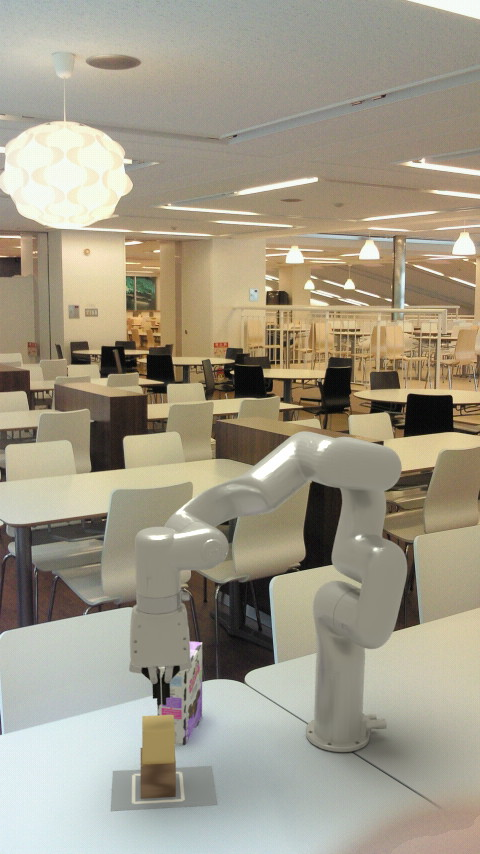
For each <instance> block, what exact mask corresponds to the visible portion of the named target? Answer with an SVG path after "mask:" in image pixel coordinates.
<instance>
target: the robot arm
mask: <svg viewBox="0 0 480 854" xmlns="http://www.w3.org/2000/svg"><path fill="white" fill-rule="evenodd" d="M401 475H402V462H401V459H400V456H399V455H398V454H397V452H396V451H395V450H394V449H393V448H392V447H389V446H386V445H383V444H378V443H375V442H371V441H367V440H363V439H361V438H360V439H359V438H355V437H350V436H339V437H333V436H329V435H326V434H325V435H324V434H320V433H317V432H312V431H304V430H303V431H299V432H296V433H293V434H292V435H290V436H289V437H288V438H287V439H286V440H284V441H283V442H282V443H280V445H278V446H277V447H276V448H275V449H273V450H272V451H271V452H269V453H268V454H267V455H266V456H264V458H262V459H261V460H259V462H257V463H255V464H254V465H253V466H252V467H251V468H250V469H249V470H247V471H245V472H244V473H243V474H241V475H239V476H237V477H236V476H235V477H234V478H231V479H227V480H225V481H223V482H222V483H218V484H217V485H215V486H214V485H213V486H212V487H209V488H207V489H205V490H203V491H201V492H200V493H198V494H197V495H195V496H193V497H191V499H190V500H188V501H187V502H186V503H185V504H184V505H182V506H181V507H179V508H178V509H177V510H176V511H175V512H174V513H173V514H172V515H170V517H169V518H168V519H167V521H166V522H165V524H164V526H151V527H147V528H144V529H141V530H139V531H138V532H137V534H136V535H135V539H134V561H135V564H134V565H135V567H134V568H135V589H136V590H135V594H136V595H135V597H136V599H135V600H136V604H135V605H133V607H132V608H131V610H132V611H131V615H130V626H129V627H130V629H129V652H130V653H129V654H130V661H129V665H128V668H129V669H128V670H129V672H131V673H134V674H135V673H136V674H142V675H143V676H144V677H145V678H146V679H148V680H149V681H150V683H151V686H152V699H156V706H158V705H160V704H161V687H162V704H163V705H166V698H170V682H171V680H172V678H173V677H174V676H175V675H176V674H177V673H178V672H179V671H183V670H187V669H190V668H191V667H192V663H191V659H190V641H191V640H190V628H189V619H188V612H187V611H188V610H187V608H186V604H185V603H184V602H186V601H190V592H185V591H183V589H182V580H181V572H183V571H206V570H212V569H214V568H216V567H218V566H220V565H221V564H222V563H223V562H224V561H225V560H226V558H227V557H228V554H229V551H230V549H229V548H230V547H229V546H230V545H229V541H228V539H227V537H226V535H225V534H224V533H223V532H222V531H221V530H220V529H218V528H216V527H217V526H219V525H221V524H223V523H225V522H227V521H230V520H233V519H237V518H241V517H249V516H251V517H252V516H260V515H265V514H270V513H273V512H275V511H276V510H278V509H279V508H280V507H281V506H282V505H283V504H285V502H287V501H288V500H289V499H290V498H291V497H293V496H294V495H295V494H297V492H298V491H300V489H302V488H304V486H306V485H307V484H308V483H310V482H314V483H318V484H320V485H324V486H327V487H332V488H338V489H339V490H340V492H341V500H342V501H341V503H342V504H341V510H340V514H339V515H340V516H339V519H338V525H337V529H336V532H335V533H336V534H335V537H334V542H333V547H332V550H331V551H332V552H331V563H332V566H333V567H334V569H335V570H336V571H337V572H339V573H340V574H341V575H343V576H346V577H347V578H349V579H350V580H353V581H355V582H357V583H359V584H361V587H358V586H355V585H353V584H351V583H349V582H345V581H343V580H330V581H328V582H325V583H324V584H322V585H321V586H320V587H319V588H318V590H317V591H316V592H315V595H314V597H313V601H312V602H313V603H312V615H313V616H312V617H313V624H314V628H315V636H316V638H315V639H316V643H315V644H316V648H315V649H316V657H315V678H314V679H315V681H314V682H315V683H314V708H313V710H314V711H313V712H314V713H313V714H314V715H313V719H312V720H310V722H308V724H307V725H306V727H305V735H306V738H307V740H308V741H309V743H311V744H312V745H314V746H315V747H317V748H318V749H319V748H320V749H322V750H324V751H325V750H326V751H329V752H334V753H348V752H355V751H359V750H360V749H363V748H365V746H366V745H368V744H369V742H370V735H371V733H370V732H371V731H372V730H386V729H387V720H386V719H385V718H379V719H378V718H377V714H373V713H372V714H365V713H364V711H363V710H364V693H365V692H364V688H365V686H364V685H365V667H366V649H367V650H375V649H379V648H381V647H382V646H384V645H386V643H387V642H388V641H389V640H390V638H391V636H392V635H393V632H394V630H395V627H396V623H397V621H398V620H397V619H398V615H399V611H400V606H401V602H402V598H403V594H404V589H405V587H406V586H405V585H406V582H407V576H408V561H407V558H406V555H405V552H404V550H403V548H401V547H400V546H399V545H398V544H397V543H395V542H393V541H391V540H389V539H386V538H384V537H383V529H384V525H385V524H384V523H385V518H386V512H387V499H386V493H385V491H388V490H390V489H391V488H393V487H394V486H395V485H396V484H397V483H398V481H399V479H400V477H401ZM158 667H165V669H164V674H163V675H162V677H161V681H160V677H159V674H158Z"/></svg>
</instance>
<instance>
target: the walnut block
mask: <svg viewBox="0 0 480 854" xmlns="http://www.w3.org/2000/svg"><path fill="white" fill-rule="evenodd" d="M176 760H177V759H175V763H167V764H146V765H142V747H140V770H141V799H145V798H164V797H176V768H177V766H176V765H177V761H176Z"/></svg>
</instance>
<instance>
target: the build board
mask: <svg viewBox="0 0 480 854" xmlns="http://www.w3.org/2000/svg"><path fill="white" fill-rule="evenodd" d="M111 778H112V780H111V798H110V812H119V811H120V812H121V811H134V810H135V811H137V810H154V809H155V810H156V809H174V808H177V809H178V808H188V807H189V808H193V807H209V806H219V805H218V799H217V792H216V785H215V779H214V772H213V766H212V765H205V766H203V765H202V766H184V767H181V766H180V767H176V797H164V798H145V799H141V769H124V770H123V769H122V770H113V771H112V777H111Z"/></svg>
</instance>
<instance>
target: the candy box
mask: <svg viewBox="0 0 480 854" xmlns="http://www.w3.org/2000/svg"><path fill="white" fill-rule="evenodd" d="M190 659H191V663H192V667H191V668H190V669H187V670H183V671H179V672H178V673H177V674H176V675H175V676H174V677H173V678H172V680H171V682H170V698H166V705H163V704H162V687H161V704H160V705H157V715H174V726H175V745H178V746H185V745H186V744H187V743H188V741H189V739H190V737H191V735H192V733H193V731H194V729H196V728H197V727H196V726H198V725H197V724H199V723H198V722H200V721H199V720H201V719H200V718H202V717H203V642H202V641H201V642H199V641H191V640H190ZM164 669H165V667H157V674H159V677H160V681H161V677H162V675H163V674H164ZM201 716H202V717H201Z"/></svg>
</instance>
